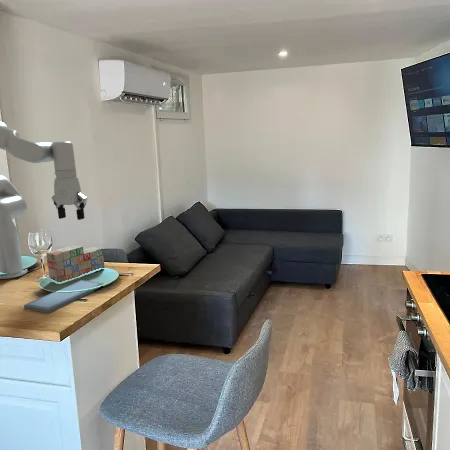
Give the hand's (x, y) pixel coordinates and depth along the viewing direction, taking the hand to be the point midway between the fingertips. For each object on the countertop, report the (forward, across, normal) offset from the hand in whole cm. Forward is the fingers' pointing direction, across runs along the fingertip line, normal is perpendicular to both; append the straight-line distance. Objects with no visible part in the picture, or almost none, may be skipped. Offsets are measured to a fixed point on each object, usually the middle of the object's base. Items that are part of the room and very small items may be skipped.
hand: (71, 218), depth 175 cm
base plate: (+23, +13, -19) cm, 33 cm away
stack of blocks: (+24, 0, 0) cm, 24 cm away
